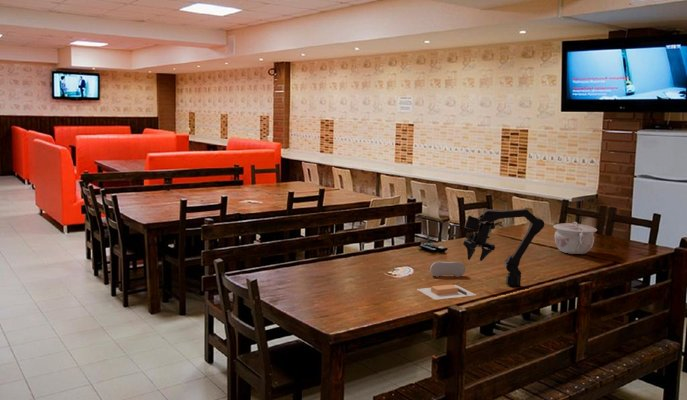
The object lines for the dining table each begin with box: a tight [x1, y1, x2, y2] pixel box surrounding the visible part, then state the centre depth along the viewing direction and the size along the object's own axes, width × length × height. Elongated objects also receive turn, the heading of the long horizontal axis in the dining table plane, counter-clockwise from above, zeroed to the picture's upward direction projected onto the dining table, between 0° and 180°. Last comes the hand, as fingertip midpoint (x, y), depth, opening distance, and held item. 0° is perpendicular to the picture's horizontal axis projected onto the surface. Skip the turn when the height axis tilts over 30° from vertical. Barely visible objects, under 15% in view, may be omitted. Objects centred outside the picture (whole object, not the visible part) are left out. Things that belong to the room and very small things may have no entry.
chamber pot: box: [552, 221, 598, 255], centre depth 400 cm, size 28×28×21 cm
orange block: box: [430, 284, 458, 295], centre depth 304 cm, size 3×6×12 cm
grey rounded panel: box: [429, 261, 466, 278], centre depth 335 cm, size 20×2×8 cm, turn 96°
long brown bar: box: [458, 288, 467, 295], centre depth 308 cm, size 1×14×1 cm, turn 23°
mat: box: [416, 284, 476, 301], centre depth 305 cm, size 24×18×1 cm
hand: (474, 260), depth 322 cm, fingers open, 9 cm apart
